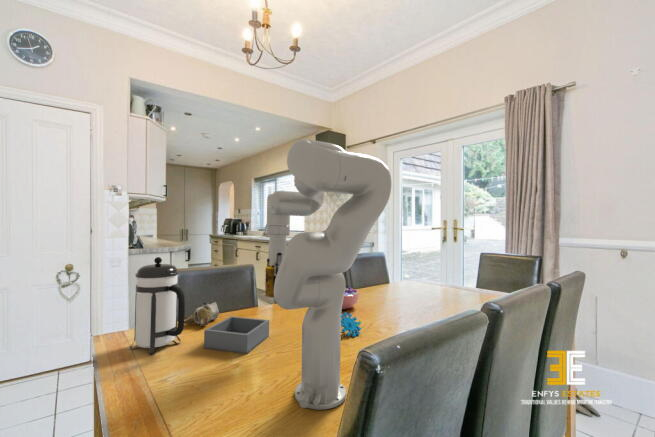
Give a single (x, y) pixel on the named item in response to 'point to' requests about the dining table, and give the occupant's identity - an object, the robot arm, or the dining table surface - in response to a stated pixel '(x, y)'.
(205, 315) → the ceramic sculpture
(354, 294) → the cell model
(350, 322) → the blue gear toy
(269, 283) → the condiment
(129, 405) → the dining table surface
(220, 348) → the bin
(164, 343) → the coffee press
